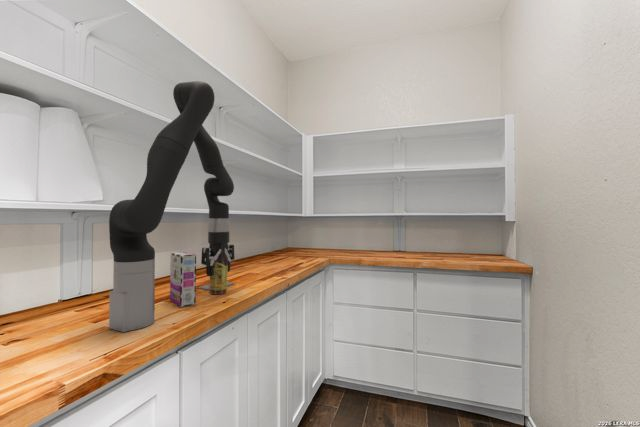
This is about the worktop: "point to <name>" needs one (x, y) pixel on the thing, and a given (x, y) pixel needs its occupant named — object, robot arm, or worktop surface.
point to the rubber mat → (209, 284)
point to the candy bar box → (183, 279)
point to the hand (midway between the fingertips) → (218, 273)
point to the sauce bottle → (219, 273)
